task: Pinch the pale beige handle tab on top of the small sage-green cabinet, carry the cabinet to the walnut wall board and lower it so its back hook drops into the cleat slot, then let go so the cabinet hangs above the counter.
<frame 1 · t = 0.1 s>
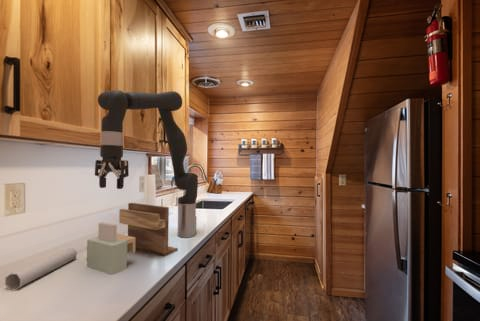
hand: (111, 188, 92), 29 cm above the worktop, tool pointing down, fingers open, 8 cm apart
wall board: (147, 251, 108), on the worktop
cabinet: (106, 267, 91), on the worktop
tube: (47, 272, 87), on the worktop
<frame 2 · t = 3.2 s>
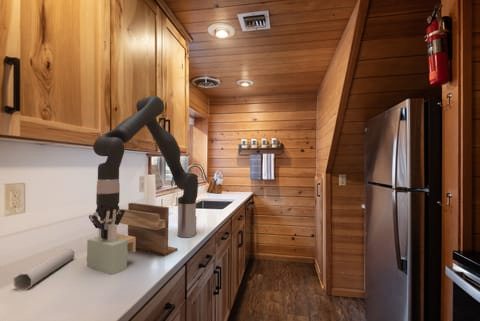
hand: (107, 238, 91), 11 cm above the worktop, tool pointing down, fingers closed on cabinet
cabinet: (106, 267, 91), on the worktop, touching gripper
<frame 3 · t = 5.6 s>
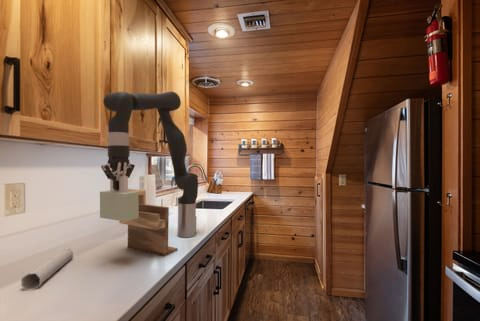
hand: (119, 189, 95), 28 cm above the worktop, tool pointing down, fingers closed on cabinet
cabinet: (119, 217, 96), point 17 cm above the worktop, touching gripper
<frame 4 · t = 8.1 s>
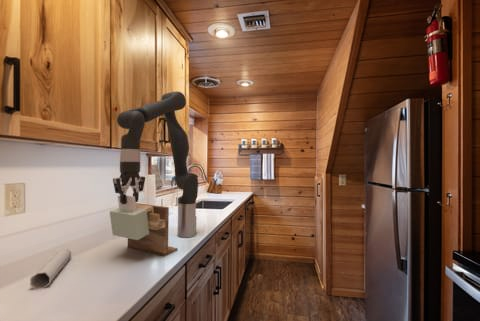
hand: (129, 202, 100), 22 cm above the worktop, tool pointing down, fingers open, 5 cm apart
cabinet: (130, 234, 101), point 9 cm above the worktop, tilted 10°, touching wall board
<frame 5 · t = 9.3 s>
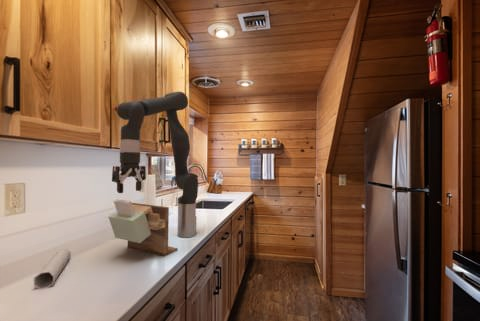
hand: (129, 191, 100), 27 cm above the worktop, tool pointing down, fingers open, 8 cm apart
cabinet: (133, 235, 102), point 9 cm above the worktop, tilted 20°, touching wall board
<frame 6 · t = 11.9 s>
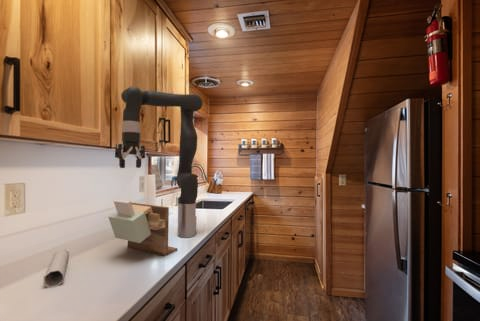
hand: (130, 167, 112), 36 cm above the worktop, tool pointing down, fingers open, 8 cm apart
at the end: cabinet 2.1 cm from the target spot on the wall board, point 8.5 cm above the wall board's base; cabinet touching wall board; the gripper is holding nothing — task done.
